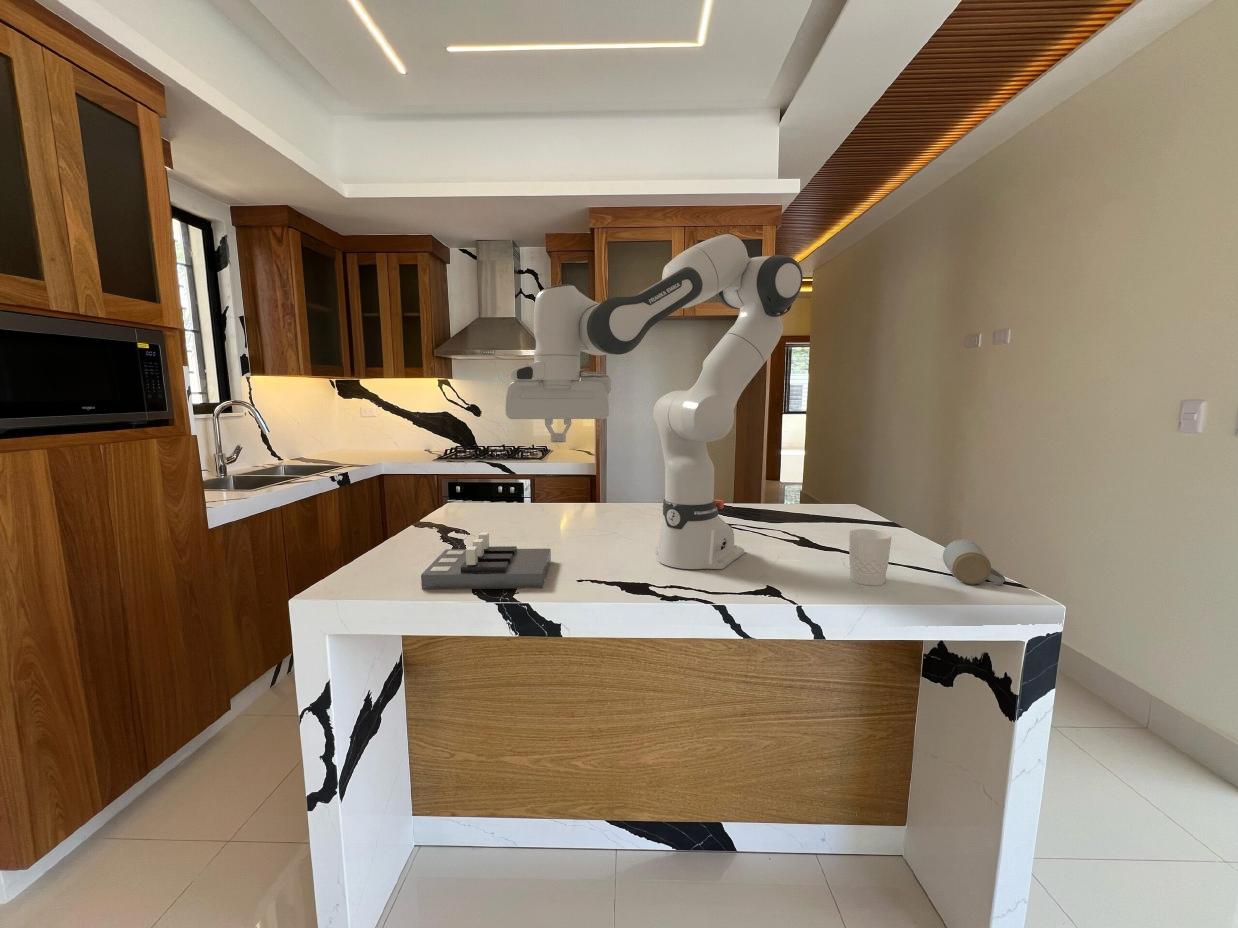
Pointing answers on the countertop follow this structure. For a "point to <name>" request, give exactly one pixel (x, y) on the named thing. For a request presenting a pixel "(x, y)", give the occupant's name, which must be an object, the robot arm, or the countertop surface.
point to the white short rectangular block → (485, 539)
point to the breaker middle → (479, 546)
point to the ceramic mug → (970, 563)
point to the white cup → (869, 556)
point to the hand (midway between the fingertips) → (558, 442)
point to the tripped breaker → (471, 555)
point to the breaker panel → (488, 569)
